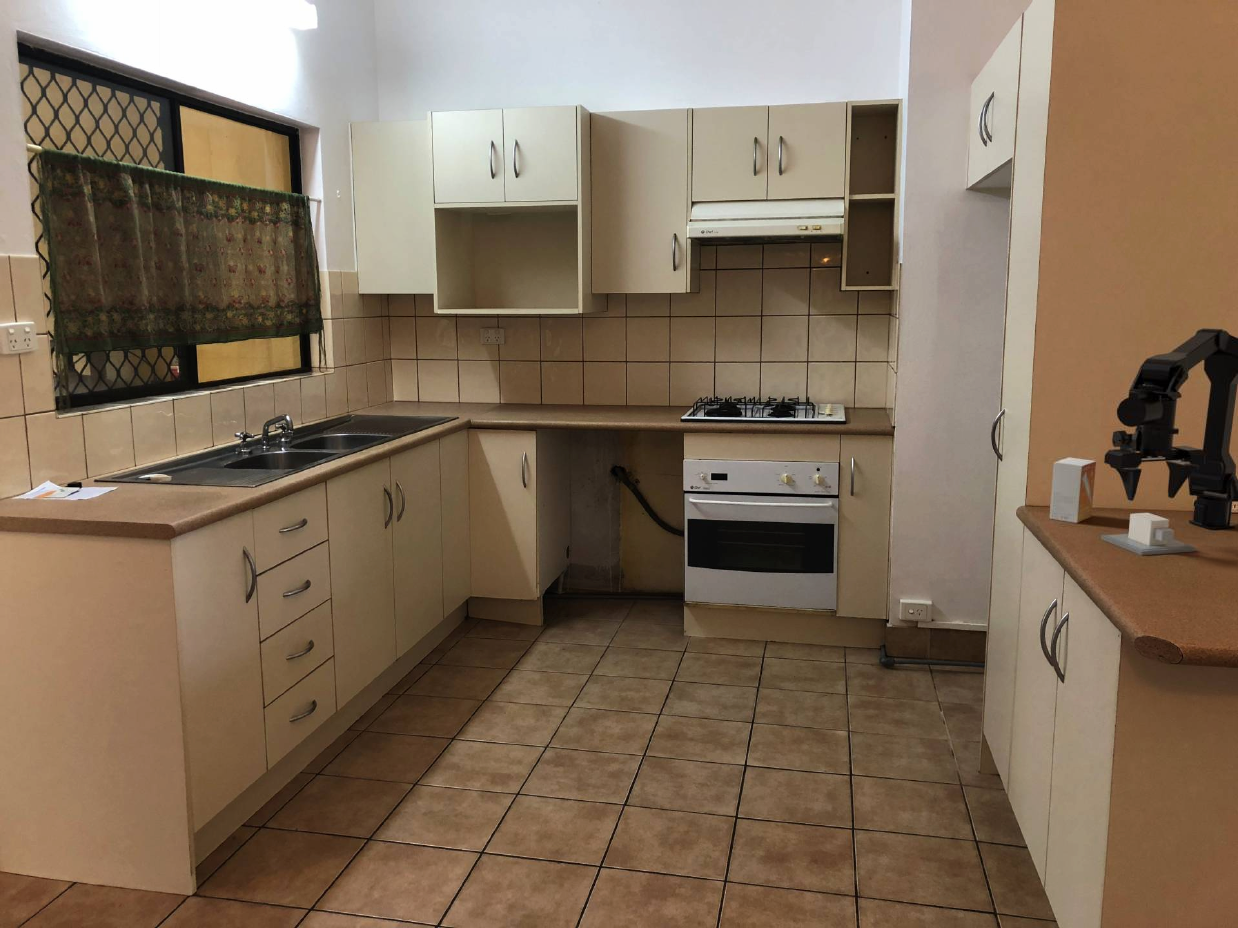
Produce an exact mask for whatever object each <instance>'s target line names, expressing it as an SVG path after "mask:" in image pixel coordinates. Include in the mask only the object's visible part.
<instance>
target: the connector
mask: <svg viewBox="0 0 1238 928" xmlns="http://www.w3.org/2000/svg"><path fill="white" fill-rule="evenodd" d="M1129 515H1130V516H1129V527H1128V534H1129V536H1128V538H1131V539H1134V540H1136V541H1139V542H1142V543H1144V544H1147V545H1161V544H1167V541H1169V540H1173V539H1174V536H1175V535H1174V534H1175V530H1174V529H1171V528H1169V527H1170V526H1169V523H1170V519H1168V518H1164V517H1162V516H1159V515H1155V514H1152V513H1150V512H1139V513H1130V514H1129Z"/></svg>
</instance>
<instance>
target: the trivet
mask: <svg viewBox="0 0 1238 928" xmlns="http://www.w3.org/2000/svg"><path fill="white" fill-rule="evenodd" d="M1128 536H1129V533H1119V534H1118V533H1117V534H1105V535H1104V534H1103V535H1100V539H1101V540H1102V541H1105V542H1106V543H1109V544H1112V545H1115V546H1117V547H1120V548H1122V549H1124V550H1126V551H1130V552H1132V553H1135V554H1137V555H1139V556H1150V555H1164V554H1175V553H1176V554H1177V553H1189V552H1190V553H1192V552H1196V547H1195V546H1192V545H1190V544H1187V543H1184V542H1182V541H1179V540H1176V539H1174V538H1173V540H1169V541H1167V544H1161V545H1147V544H1144V543H1142V542H1139V541H1136V540H1134V539H1131V538H1128Z"/></svg>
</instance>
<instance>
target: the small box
mask: <svg viewBox="0 0 1238 928" xmlns="http://www.w3.org/2000/svg"><path fill="white" fill-rule="evenodd" d="M1096 467H1097V460H1091V459H1084V458H1077V457H1076V458H1075V457H1070V456H1068V457H1066V458H1064V459H1060V460H1057V461H1054V462H1053V468H1052V469H1053V471H1052V483H1051V484H1052V485H1051V495H1050V496H1051V497H1050V508H1049V510H1050V511H1049V519H1051V520H1055V521H1062V522H1067V523H1074V524H1078V523H1080V522H1082V521H1084V520H1086V519H1089V518H1091V517H1092V513H1093V512H1092V511H1093V501H1094V500H1093V499H1094V488H1095V478H1096Z"/></svg>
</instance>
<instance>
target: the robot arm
mask: <svg viewBox="0 0 1238 928" xmlns="http://www.w3.org/2000/svg"><path fill="white" fill-rule="evenodd" d="M1202 361H1203V371H1204V373H1205V375H1206V376H1207V379H1208V381H1209V382H1210V388H1209V396H1208V404H1207V411H1206V419H1205V420H1206V421H1205V427H1204V429H1205V430H1204V436H1203V444H1202V449H1201V448H1197V447H1193V446H1187V445H1178V446H1175V445H1174V444H1173V443H1174V435H1179V432H1180V429H1179V428H1177V427H1176V428H1175V424H1176V423H1175V422H1176V413H1177V403H1178V399H1181V398H1182V394H1181V392H1180V391H1179V390H1180V389H1181V387H1182V386H1183V384H1185V383H1186V381H1188V379H1189V371H1191V369H1193V368H1194V367H1195V366H1197V365H1199V364H1200V362H1202ZM1138 369H1139V370H1138V371H1137V374H1136V375H1135V377H1134V380H1133V381H1132V384H1131V386H1130V388H1129V391H1128V397H1126V398H1124V399H1123V400H1122V401H1120V403H1119V405H1118V407H1117V408H1116V416H1117V419H1118V420H1119V422H1120V423H1121V424H1122V425H1123V426H1125V427H1129V428H1134V427H1135V432H1134V433H1127V431H1126V430H1116V431H1113V432H1112V439H1111V443H1112V447H1114V449H1108V450H1107V451H1105V453H1104V461H1103V463H1104V464H1106V465H1109V467H1110V468H1112V469H1115V471H1117V473H1118V474H1119V476H1120V479H1121V481H1122V484H1123V487H1124V491H1125V494H1126V497H1127V500H1128V501H1130V502H1132V501H1134V499H1135V497H1136V494H1137V489H1138V485H1139V482H1140V479H1141V478H1140V477H1141V475H1142V468H1139V467H1140V465H1142V463H1148V462H1149V463H1150V462H1153V463H1154V462H1165V464H1166V466H1167V468H1168V470H1169V472H1168V484H1167V485H1168V486H1167V497H1168V498H1169V499H1174V498H1175V496H1177V494H1178V492H1180V489H1181V488H1182V487H1183V485H1184V484H1185V483H1186V481H1187V480H1188V482H1187V483H1188V492H1189V496H1195V497H1196V502H1195V503H1194V507H1193V517H1192V519H1188V522H1189V523H1190V524H1194V525H1197V526H1200V527H1203V528H1205V529H1209V530H1217V529H1231V528H1236V526H1237V525H1236V524H1233V523H1232V522H1231V517H1232V508H1233V502H1235V503H1238V477H1237V474H1236V473H1237V464H1236V463H1235V460H1234V459H1233V457H1232V456H1231V454H1230V446H1231V445H1230V444H1231V440H1232V439H1231V438H1232V430H1233V424H1234V423H1233V422H1234V416H1235V415H1234V414H1235V413H1234V412H1235V406H1236V401H1237V400H1236V399H1237V393H1238V337H1236V336H1234V335H1231V334H1230V333H1229V332H1228V331H1227V330H1224V329H1222V328H1200V329H1198V330H1197V331H1196V333H1195V335H1193V336H1191V337H1190V338H1188V339H1187V340H1186V341H1184V342H1183V343H1181V344H1180V345H1179V346H1177V347H1176V348H1174V349H1173V350H1172V351H1170V352H1168V353H1160V354H1155V355H1153V356H1151V357H1147V358H1146V359H1145V360H1144V361H1143V363H1142V364H1141V365H1140V367H1139V368H1138ZM1173 445H1174V446H1173ZM1115 448H1117V449H1115Z"/></svg>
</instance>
